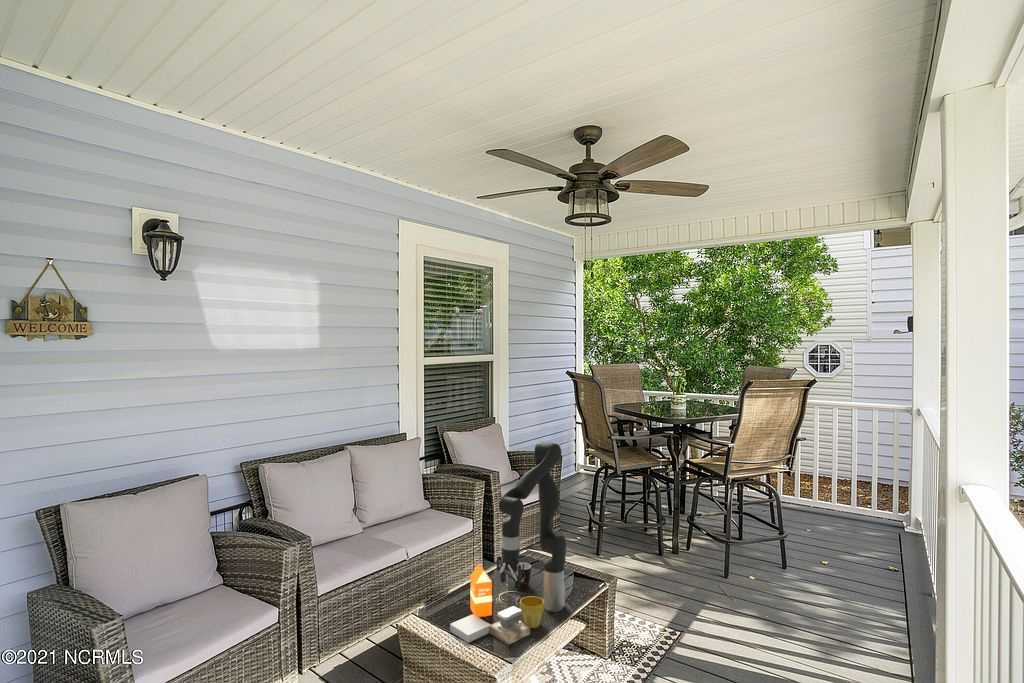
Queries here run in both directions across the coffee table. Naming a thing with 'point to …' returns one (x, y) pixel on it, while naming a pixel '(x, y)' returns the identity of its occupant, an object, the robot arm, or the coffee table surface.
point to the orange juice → (480, 593)
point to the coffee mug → (524, 582)
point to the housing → (509, 619)
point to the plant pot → (532, 610)
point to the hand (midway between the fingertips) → (510, 585)
